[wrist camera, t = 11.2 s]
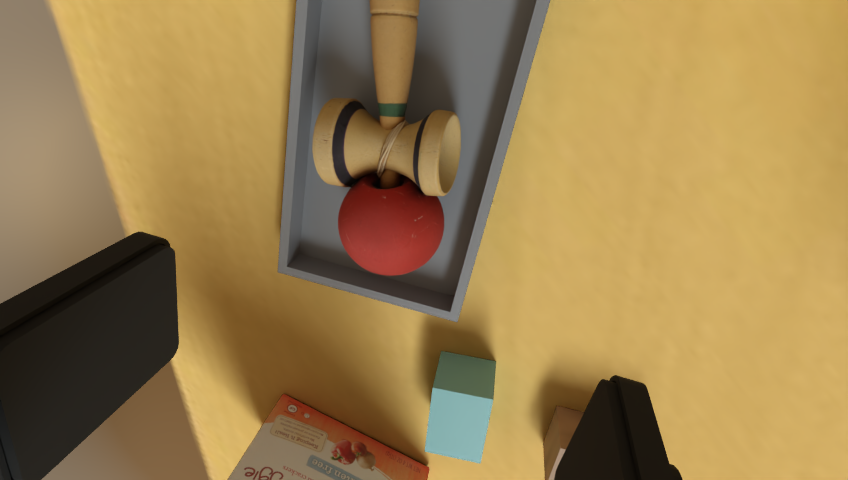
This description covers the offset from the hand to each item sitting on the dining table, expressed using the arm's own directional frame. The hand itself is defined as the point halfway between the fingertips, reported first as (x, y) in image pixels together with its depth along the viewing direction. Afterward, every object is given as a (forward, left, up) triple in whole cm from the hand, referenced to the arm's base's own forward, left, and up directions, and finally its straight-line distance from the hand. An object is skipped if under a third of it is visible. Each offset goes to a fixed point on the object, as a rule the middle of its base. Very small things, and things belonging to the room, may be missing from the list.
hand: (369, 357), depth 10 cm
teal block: (-4, +18, -20) cm, 28 cm away
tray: (+4, -1, -20) cm, 20 cm away
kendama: (+4, -1, -20) cm, 20 cm away
